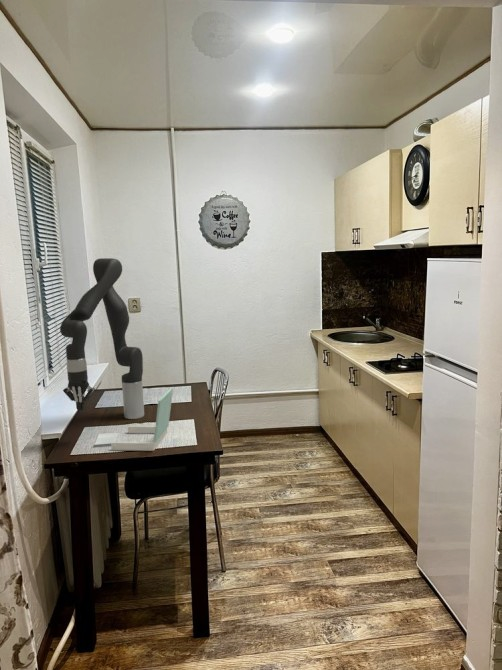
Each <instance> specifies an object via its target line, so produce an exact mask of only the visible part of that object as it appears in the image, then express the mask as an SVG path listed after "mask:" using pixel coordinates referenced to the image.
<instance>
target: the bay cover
mask: <svg viewBox="0 0 502 670" xmlns="http://www.w3.org/2000/svg"><path fill="white" fill-rule="evenodd" d="M173 393H174V387H171V388H169V389H168V391H166V392H165V394H163V395H162V396H161V397H160V399H158V401H157V403H158V404H157V410H156V418H155V419H156V420H155V425H154V426H155V434H154V437H153V440H154V442H155V443H156V441H157V440H158V439H159V438H160V436H161V435H162V434H163V433H164V431H165V430H166V429H167V430H168V427H169V424H170V416H171V407H172V398H173Z"/></svg>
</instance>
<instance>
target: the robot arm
mask: <svg viewBox="0 0 502 670" xmlns="http://www.w3.org/2000/svg"><path fill="white" fill-rule="evenodd" d="M92 271H93V275H94V278H95V280H96V284H94V286H93V287H91V288H90V289H89V290H87V291H86V292H85V293H84V294H83V295H82V297H80V299H79V301H78V302H77V304H76V306H75V308H74V309H73V310H72V311H71V312H70V313H68V315H67V316H65V318H64V319H63V320H62V322H61V324H60V327H59V332H60V334H61V335H62V337H65V338H70V339H72V340H71V343H69V344H67V345H66V346H65V352H66V353H65V355H66V372H67V381H68V383H67V386H66V387H65V388H63V389H62V391H63V392H64V394H65V395H66V396H67V398H69V401H71V402H72V401H73V402H74V403H75V406H76V410H77V411H78V412H82V411H84V410H85V409H86V408H85V407H86V406H85V402H86V401H87V400H88V399H90V397H91V396H92V394H93V392H94V391H95V390H96V389H95V387H93V386H91V385H90V383H89V381H88V380H89V379H88V377H89V376H88V367H87V360H86V351H85V345H86V342H87V341H86V340H87V337H88V328H87V325H86V323H85V321H88V320H90V319H91V318H92V316H93V314H94V312H95V311H96V309H97V307H98V306H99V304H100V302H101V301H102V302H103V306H104V309H105V313H106V317H107V321H108V324H109V327H110V332H111V336H112V341H113V348H114V355H115V359H116V362H117V364H118V365H119V366H121V367H128V368H129V371H128V372H126V373H124V374H122V375H121V385H122V386H121V388H122V403H123V415H124V416H123V417H124V418H125V419H128V420H136V419H141V418H143V417H144V416H145V405H144V390H143V389H144V388H143V374H144V372H143V371H144V367H143V365H144V364H143V363H144V361H143V360H144V358H143V352H142V350H141V348H140V347H137V346H127V342H126V332H127V329H128V327H129V324H130V316H129V311H128V307H127V305H126V303H125V302H124V300H123V299H122V297H121V296H120V295H119V294H118V292H117V291H116V290H115V287H114V285H115V283H116V282H117V281H118V280H119V279H120V277H121V275H122V274H123V273H122V272H123V266H122V262H121V261H120V260H118V259H117V258H101V257H100V258H97V259H95V260H94V262H93V265H92Z"/></svg>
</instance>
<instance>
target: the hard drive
mask: <svg viewBox="0 0 502 670" xmlns="http://www.w3.org/2000/svg"><path fill="white" fill-rule="evenodd" d="M118 438H119V432H103V433H99V434H98V435H97V438H96V439H95V441H94V444H93V448H102V447H103V448H104V447H105V448H106V447H111V442H118V441H117V440H118Z"/></svg>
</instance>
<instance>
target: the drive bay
mask: <svg viewBox="0 0 502 670" xmlns="http://www.w3.org/2000/svg"><path fill="white" fill-rule="evenodd" d="M155 426H156V425H127V434H150V433H155ZM167 434H168V428H167V429H166V430H165V431H164V433H163V434H162V435H161V436H160V438H159V439H158V440H157V441H156V443H155V442H154V439H153V440H152V441H151V442H149V441H148V442H146V441H143V442H141V441H116V442H111V446H110V447H111V451H149V452H151V451H152V452H154V451H155V450H156V449H157V447H158V446H159V445H160V444H161V442H162V441H163V440H164V438H166V437H165V436H166V435H167Z"/></svg>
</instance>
